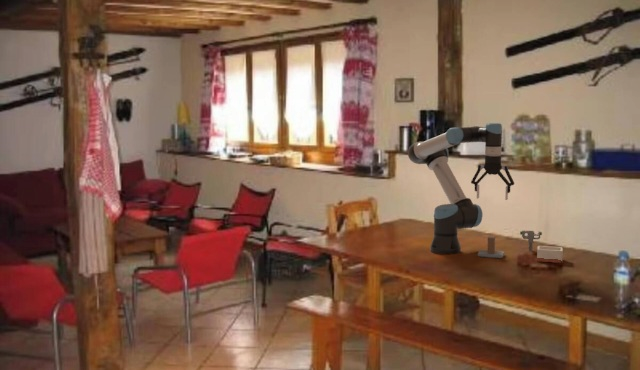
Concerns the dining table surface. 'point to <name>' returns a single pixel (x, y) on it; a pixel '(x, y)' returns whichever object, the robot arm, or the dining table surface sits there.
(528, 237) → the mechanical component
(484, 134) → the robot arm
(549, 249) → the box
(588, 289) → the dining table surface
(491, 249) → the lid
